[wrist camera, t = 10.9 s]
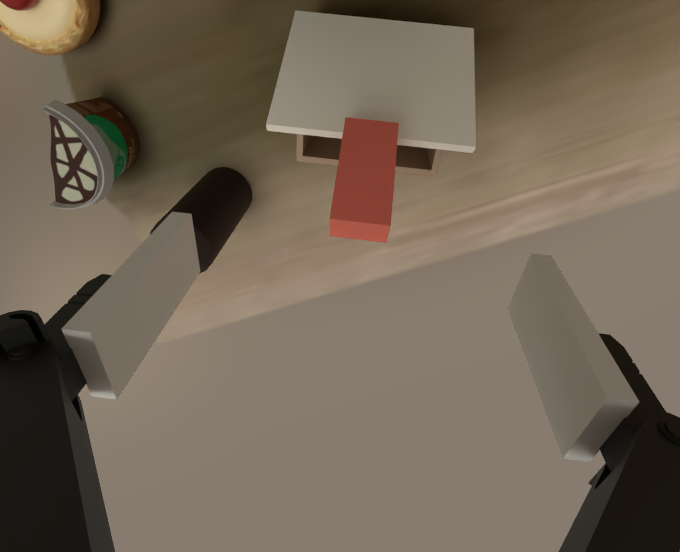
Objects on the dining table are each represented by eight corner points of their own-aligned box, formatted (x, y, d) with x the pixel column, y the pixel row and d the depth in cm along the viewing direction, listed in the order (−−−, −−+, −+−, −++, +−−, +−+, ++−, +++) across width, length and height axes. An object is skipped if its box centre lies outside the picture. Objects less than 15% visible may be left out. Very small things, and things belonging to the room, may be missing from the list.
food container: (145, 193, 56) (103, 228, 47) (100, 177, 55) (49, 209, 47) (152, 105, 49) (104, 128, 40) (100, 84, 48) (41, 104, 40)
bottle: (193, 175, 53) (107, 256, 37) (237, 159, 52) (167, 237, 35) (219, 219, 57) (150, 311, 41) (261, 206, 55) (207, 296, 39)
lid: (296, 17, 33) (293, -8, 31) (471, 35, 33) (479, 10, 31) (243, 225, 25) (236, 208, 23) (474, 252, 25) (486, 236, 23)
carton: (315, 13, 42) (298, 20, 33) (452, 26, 41) (468, 37, 33) (311, 131, 49) (296, 161, 41) (428, 144, 48) (436, 176, 40)
